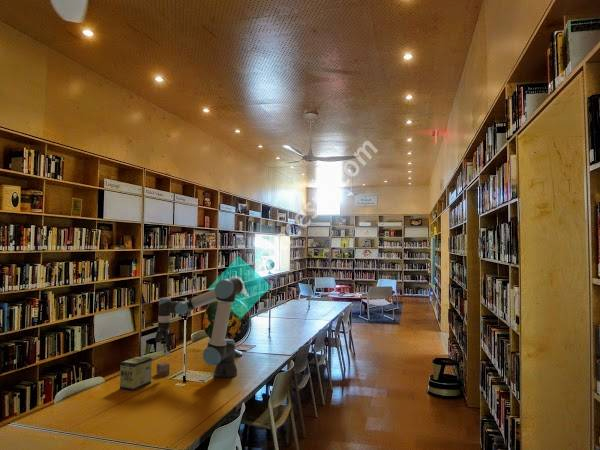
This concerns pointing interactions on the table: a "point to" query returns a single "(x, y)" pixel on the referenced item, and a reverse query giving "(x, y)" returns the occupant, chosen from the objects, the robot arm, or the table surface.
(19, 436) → the table surface
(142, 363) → the protein box
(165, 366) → the walnut block
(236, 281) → the robot arm
